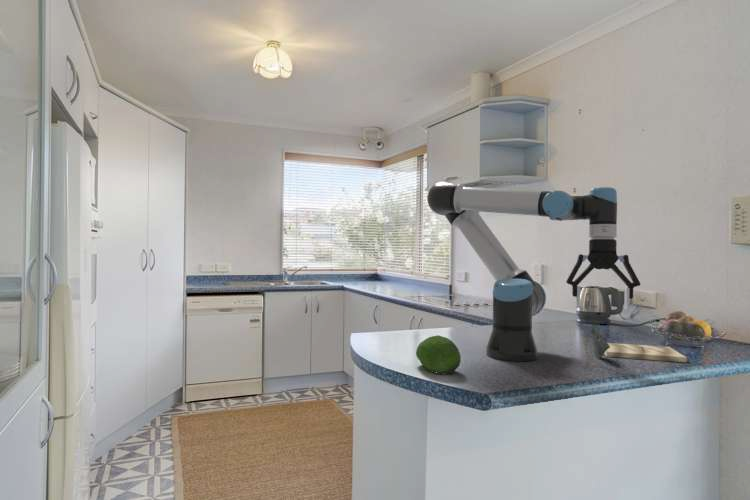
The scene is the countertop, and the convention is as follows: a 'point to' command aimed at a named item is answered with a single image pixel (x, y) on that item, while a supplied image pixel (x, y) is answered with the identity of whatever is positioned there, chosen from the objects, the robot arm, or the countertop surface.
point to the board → (644, 352)
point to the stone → (599, 343)
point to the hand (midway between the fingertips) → (602, 308)
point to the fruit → (438, 354)
